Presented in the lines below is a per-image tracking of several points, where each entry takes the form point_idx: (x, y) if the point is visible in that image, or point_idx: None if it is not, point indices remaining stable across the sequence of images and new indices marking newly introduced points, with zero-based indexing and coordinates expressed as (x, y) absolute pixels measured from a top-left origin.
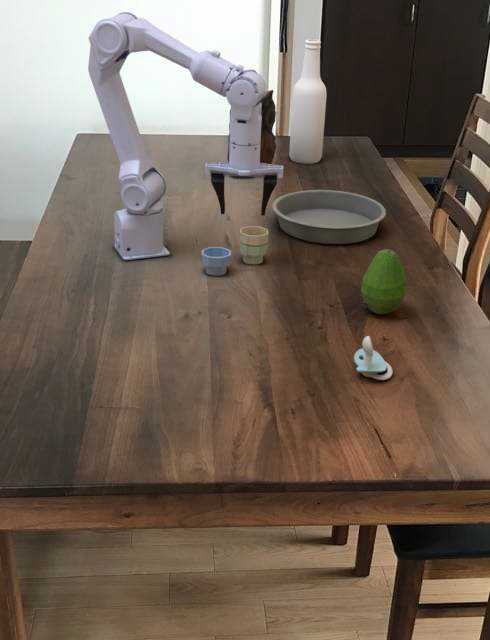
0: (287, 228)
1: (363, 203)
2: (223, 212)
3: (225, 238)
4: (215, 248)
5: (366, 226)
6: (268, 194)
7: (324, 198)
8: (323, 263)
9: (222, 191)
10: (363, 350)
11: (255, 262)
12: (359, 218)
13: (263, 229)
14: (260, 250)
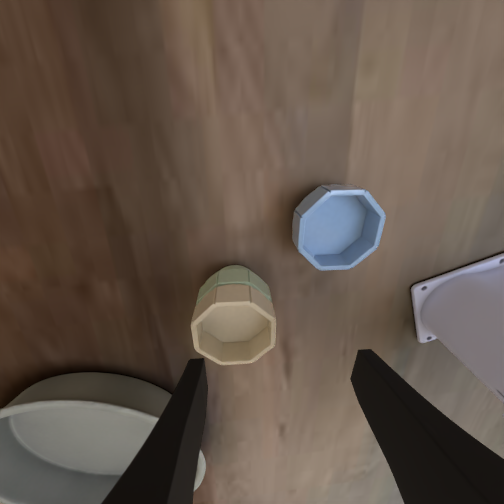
0: None
1: (44, 494)
2: (367, 354)
3: (290, 368)
4: (338, 264)
5: None
6: (132, 484)
7: None
8: (72, 288)
9: (467, 469)
10: None
11: (228, 267)
12: (59, 458)
13: (208, 351)
14: (214, 279)
